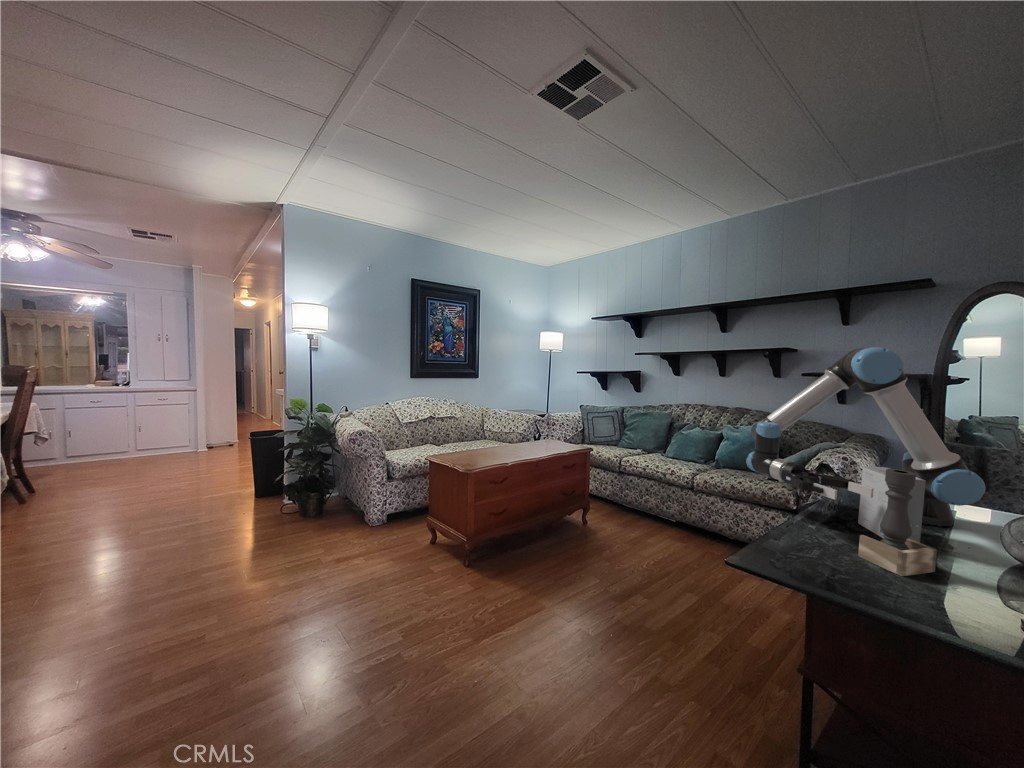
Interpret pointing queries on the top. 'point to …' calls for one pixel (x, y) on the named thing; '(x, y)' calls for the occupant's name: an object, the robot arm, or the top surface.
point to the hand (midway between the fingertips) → (854, 494)
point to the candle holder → (897, 508)
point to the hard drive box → (877, 506)
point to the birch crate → (899, 556)
